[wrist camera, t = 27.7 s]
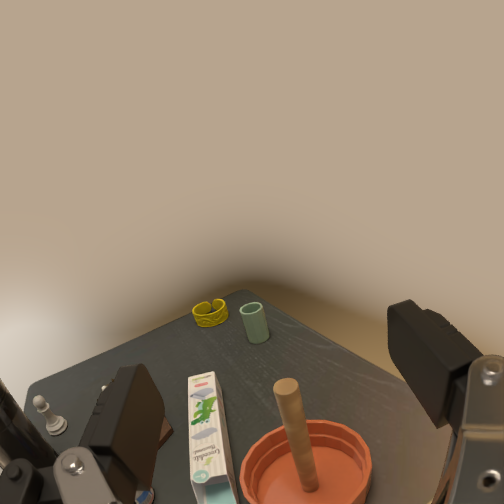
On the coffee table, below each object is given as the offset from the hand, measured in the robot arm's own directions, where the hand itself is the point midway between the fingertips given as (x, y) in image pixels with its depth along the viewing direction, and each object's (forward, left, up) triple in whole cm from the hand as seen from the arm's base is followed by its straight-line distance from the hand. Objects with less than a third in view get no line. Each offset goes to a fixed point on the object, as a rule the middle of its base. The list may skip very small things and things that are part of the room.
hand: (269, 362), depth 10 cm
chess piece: (-38, +34, -30) cm, 59 cm away
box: (-8, +21, -30) cm, 38 cm away
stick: (+2, +11, -29) cm, 31 cm away
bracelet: (-3, +61, -30) cm, 68 cm away
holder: (+5, +47, -30) cm, 56 cm away
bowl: (+2, +11, -30) cm, 32 cm away
